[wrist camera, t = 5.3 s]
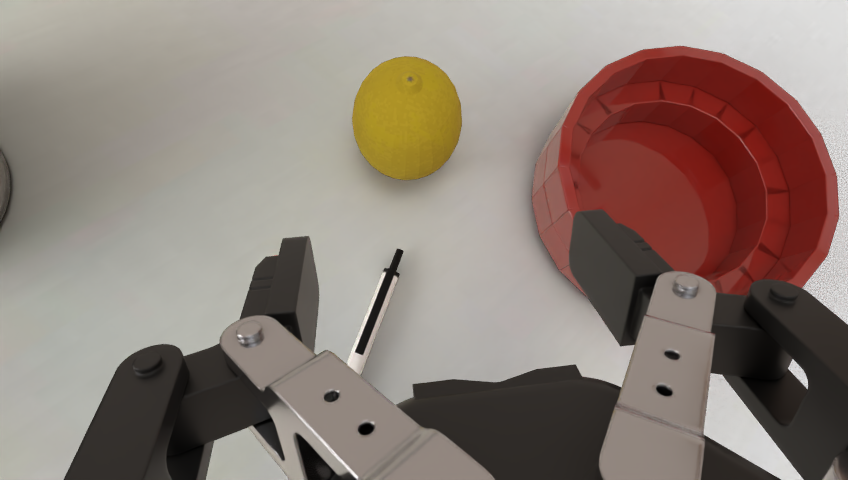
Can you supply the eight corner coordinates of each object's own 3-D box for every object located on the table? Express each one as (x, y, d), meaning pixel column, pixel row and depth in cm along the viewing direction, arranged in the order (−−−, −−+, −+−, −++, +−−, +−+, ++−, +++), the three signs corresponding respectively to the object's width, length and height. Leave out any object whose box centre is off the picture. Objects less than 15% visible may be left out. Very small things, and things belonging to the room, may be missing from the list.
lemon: (352, 194, 28) (337, 128, 21) (364, 107, 30) (354, 16, 22) (448, 204, 29) (468, 143, 21) (455, 117, 30) (477, 31, 22)
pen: (407, 254, 28) (408, 249, 26) (260, 634, 23) (254, 648, 22) (392, 249, 28) (392, 244, 26) (243, 627, 23) (235, 640, 22)
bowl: (480, 202, 29) (500, 164, 23) (628, 61, 32) (675, -1, 26) (663, 378, 27) (729, 380, 21) (802, 210, 30) (890, 176, 24)
